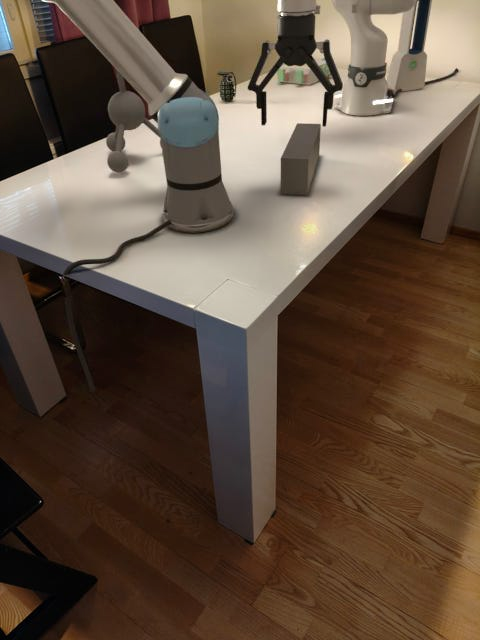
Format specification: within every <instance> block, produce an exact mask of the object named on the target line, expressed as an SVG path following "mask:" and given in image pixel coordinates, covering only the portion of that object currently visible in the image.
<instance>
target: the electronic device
mask: <svg viewBox="0 0 480 640" xmlns="http://www.w3.org/2000/svg"><path fill="white" fill-rule="evenodd" d="M432 3H433V0H417V2H416V3H415V5H414V6H413V7H412V9H411V10H410V11H407V12H403V13H402V16H401V23H400V31H399V39H398V46H397V50H396V51H395V53H393V55H392V57H391V62H390V65H389V69H388V73H387V77H386V81H387V84H388V89H391V90H393V92H396V91H397V90H399V89H402V91H401V92H407V91H417V90H422V89H423V87H424V86H425V85H426V84H425V82H426V73H427V63H428V62H427V61H428V54H427V52H425V47H426V40H427V35H428V27H429V22H430V16H431V10H432Z"/></svg>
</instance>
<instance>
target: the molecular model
mask: <svg viewBox="0 0 480 640" xmlns="http://www.w3.org/2000/svg"><path fill="white" fill-rule="evenodd" d="M115 71H116V77H117V82H118V87H119V91H118V92H115V93H114V94H113V95H112V96H111V98H110V99H109V101H108V105H107V112H108V117H109V119H110V121H111V122H112V123H113V125H115V131H114V132H111V133H109V134H108V135H107V137H106V140H105V144H106V147H107V148H108V149H109V150H110V153H109V154H108V156H107V159H106V160H107V166H108V168H109V169H110V170H111V172H114V173H117V174H121V173H123V172H126V171H127V169H128V167H129V163H130V161H129V158H128V155H126V153H124V152H123V150H124V149H125V147H126V140H125V139H126V138H124V136H125V131H133V130H136V129H138V128H139V127H140V126H142V124H143V125H145V126H146V127H147V128H148V129H149V130H150V131H152V132H153V133H154V134H155V135H156V136H157V137H158V138H159V146H160V148H161V149H162V146H161V139H160V134H159V131H158V127H157V126H156V125H154V124H153V123H152V122H151V121H150V120H149V119H148V118H147V117H146V106H145V104H144V102H143V100H142V98H141V97H140V96H139V95H138V94H136V93H135V92H132V91H130V90H127V89H126V84H125V78H124V77H123V76H122V75H121V74H120V72H119V71H118V70H117V69H116V68H115Z"/></svg>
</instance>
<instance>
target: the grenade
mask: <svg viewBox="0 0 480 640" xmlns="http://www.w3.org/2000/svg"><path fill="white" fill-rule="evenodd" d="M216 75H217V76H219V77H221V78H222V79H221V80H220V82H219V91H218V92H219V97H220V100H221V101H222V102H223V103H230V102H232V101H233V100H234V99H235V98H236V95H237V94H236V93H237V77H236V76H235V74H234V71H233V70H231V71H226V70H225V71H224V70H223V71H218V72H217V73H216ZM233 81H234V82H233Z"/></svg>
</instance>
